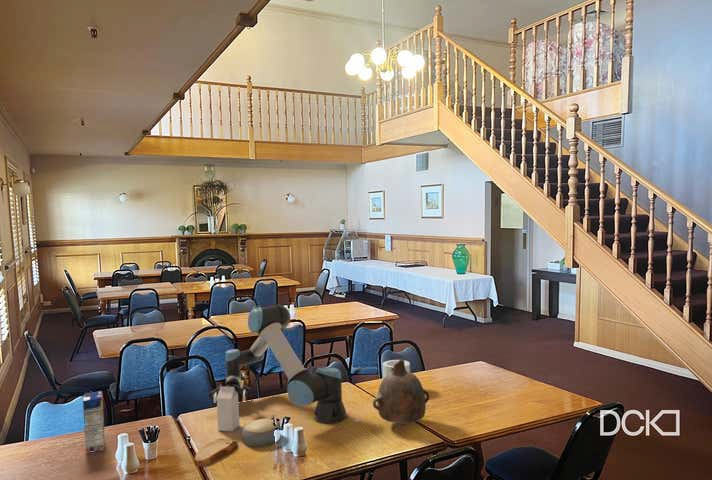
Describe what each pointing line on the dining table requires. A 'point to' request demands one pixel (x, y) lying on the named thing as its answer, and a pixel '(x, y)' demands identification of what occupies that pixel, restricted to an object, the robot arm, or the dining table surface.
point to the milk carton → (227, 409)
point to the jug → (401, 396)
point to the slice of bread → (213, 451)
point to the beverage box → (94, 421)
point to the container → (390, 364)
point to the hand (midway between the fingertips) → (229, 398)
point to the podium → (259, 433)
